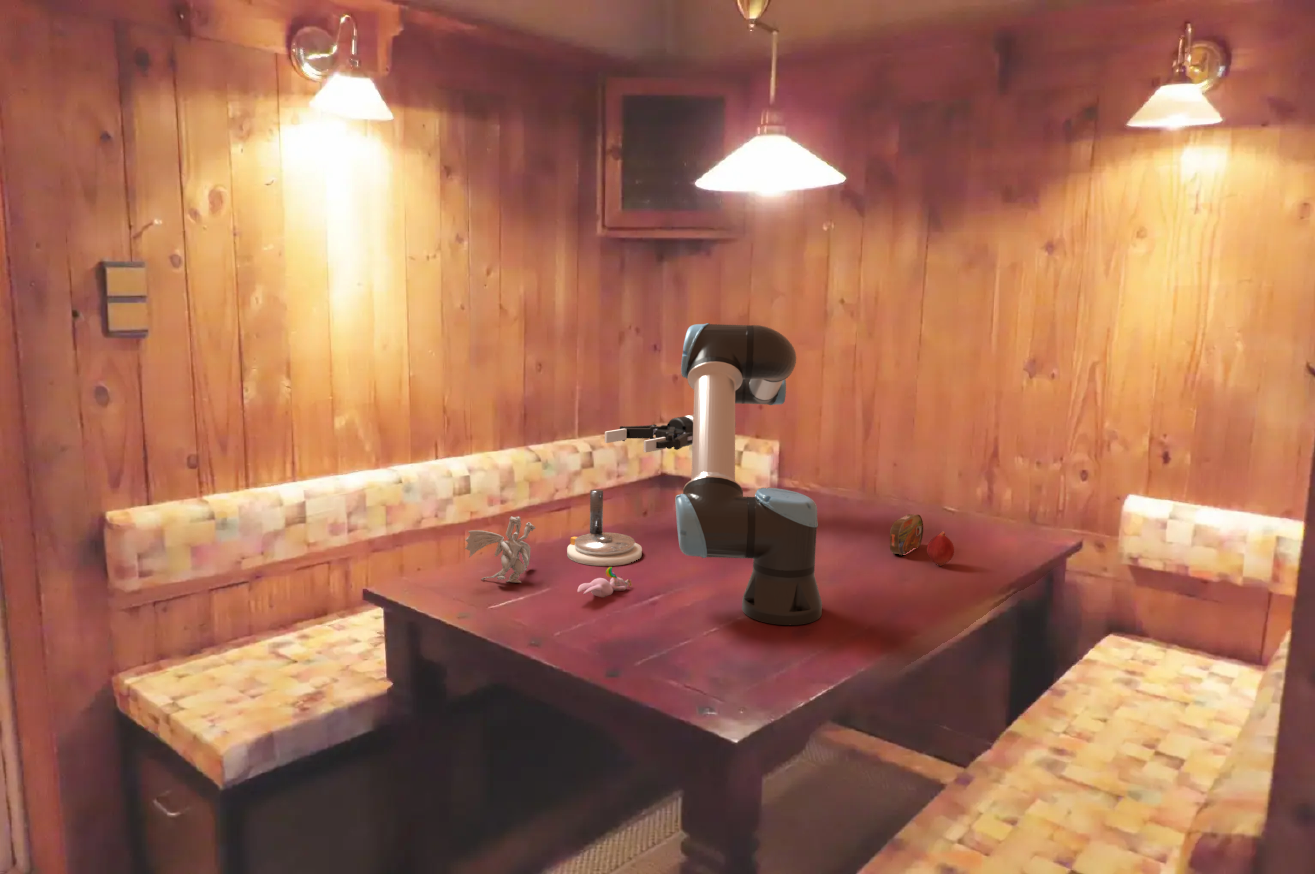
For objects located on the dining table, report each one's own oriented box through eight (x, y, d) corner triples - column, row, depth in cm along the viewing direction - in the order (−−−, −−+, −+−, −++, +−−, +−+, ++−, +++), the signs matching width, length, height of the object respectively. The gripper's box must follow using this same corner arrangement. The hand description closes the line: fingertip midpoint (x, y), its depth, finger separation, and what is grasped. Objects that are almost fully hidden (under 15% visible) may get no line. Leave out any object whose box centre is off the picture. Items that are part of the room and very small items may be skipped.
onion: (923, 567, 205) (926, 532, 203) (928, 560, 210) (931, 526, 208) (950, 571, 202) (953, 536, 201) (955, 564, 207) (957, 530, 206)
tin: (898, 559, 210) (901, 524, 209) (885, 557, 212) (888, 522, 210) (923, 545, 222) (925, 512, 220) (910, 543, 224) (913, 509, 222)
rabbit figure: (612, 589, 190) (567, 598, 177) (615, 561, 189) (570, 567, 177) (637, 596, 186) (592, 605, 174) (640, 567, 186) (596, 574, 173)
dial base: (620, 570, 198) (620, 557, 197) (553, 558, 205) (553, 546, 204) (654, 550, 213) (654, 537, 212) (590, 540, 220) (590, 528, 219)
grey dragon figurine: (453, 574, 185) (463, 507, 189) (519, 589, 198) (527, 526, 202) (484, 573, 178) (494, 504, 182) (550, 588, 191) (558, 523, 195)
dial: (643, 552, 205) (644, 501, 203) (585, 558, 200) (586, 505, 198) (621, 535, 218) (621, 487, 216) (566, 540, 213) (566, 491, 211)
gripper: (723, 453, 223) (661, 466, 208) (651, 437, 240) (590, 448, 225) (724, 423, 221) (662, 434, 206) (652, 409, 238) (590, 418, 224)
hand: (624, 441), depth 216 cm, fingers open, 13 cm apart
